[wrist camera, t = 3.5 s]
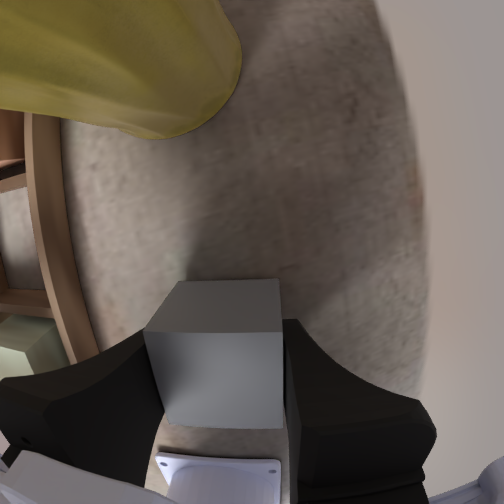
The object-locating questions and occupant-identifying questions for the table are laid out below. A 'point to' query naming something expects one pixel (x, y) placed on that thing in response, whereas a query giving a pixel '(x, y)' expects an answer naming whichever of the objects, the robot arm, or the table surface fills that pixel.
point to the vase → (119, 62)
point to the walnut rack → (41, 257)
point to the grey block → (219, 354)
